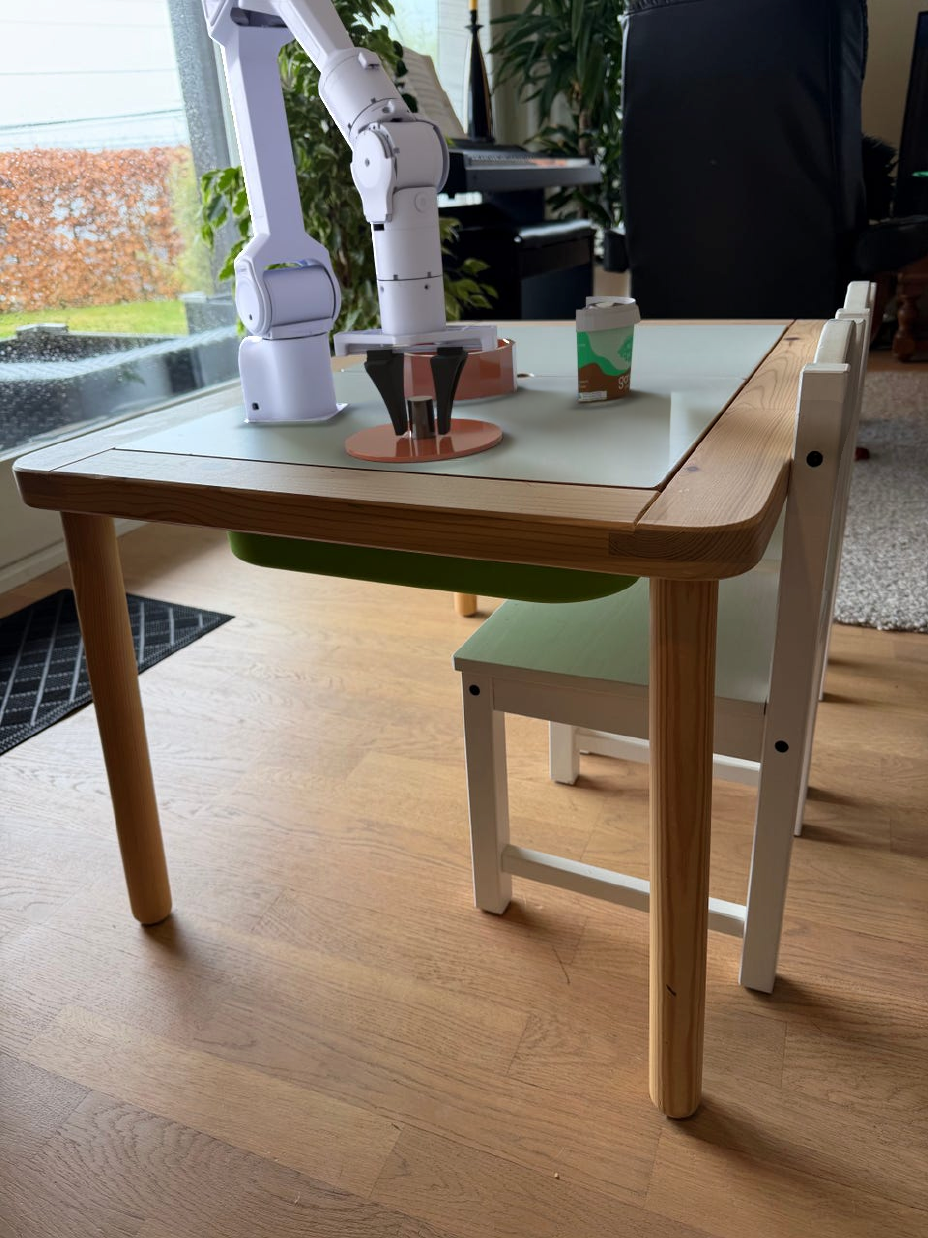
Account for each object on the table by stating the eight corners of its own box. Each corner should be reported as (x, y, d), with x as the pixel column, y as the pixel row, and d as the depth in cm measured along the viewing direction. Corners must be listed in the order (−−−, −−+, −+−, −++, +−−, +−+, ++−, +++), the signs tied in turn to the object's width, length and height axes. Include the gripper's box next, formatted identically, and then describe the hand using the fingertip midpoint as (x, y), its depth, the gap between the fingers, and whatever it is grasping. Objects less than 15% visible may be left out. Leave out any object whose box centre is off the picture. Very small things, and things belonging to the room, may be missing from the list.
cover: (324, 470, 83) (317, 418, 81) (371, 430, 96) (366, 384, 94) (487, 468, 80) (484, 414, 78) (513, 427, 93) (511, 380, 91)
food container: (638, 410, 96) (638, 307, 92) (577, 411, 98) (575, 310, 94) (642, 385, 107) (643, 293, 103) (587, 387, 109) (586, 296, 105)
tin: (386, 407, 106) (382, 358, 104) (416, 383, 118) (412, 339, 116) (506, 404, 103) (504, 353, 101) (524, 380, 115) (522, 334, 113)
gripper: (315, 286, 80) (334, 444, 86) (483, 277, 77) (492, 442, 82) (341, 278, 86) (358, 426, 92) (498, 269, 83) (505, 423, 89)
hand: (423, 432), depth 88 cm, fingers open, 3 cm apart
